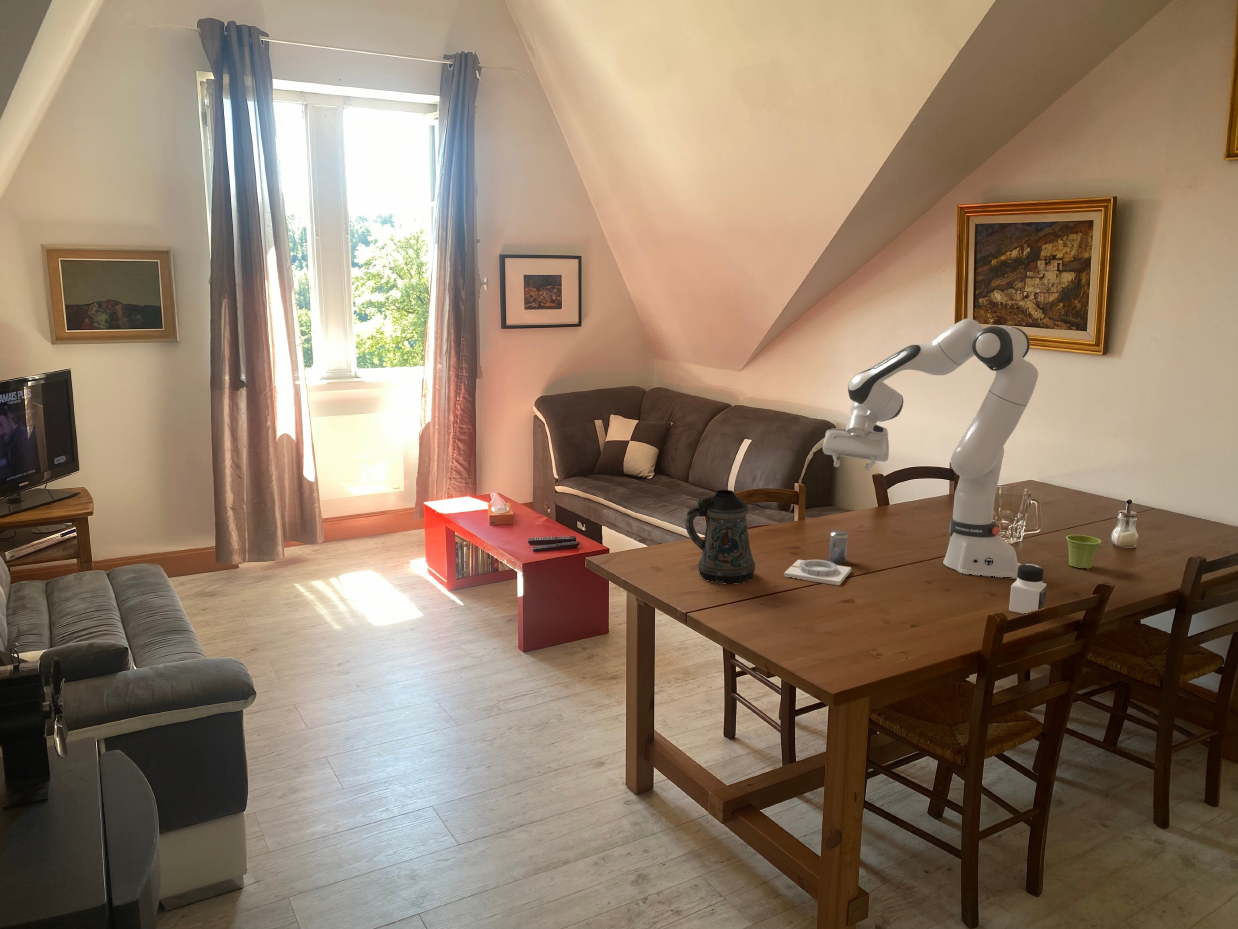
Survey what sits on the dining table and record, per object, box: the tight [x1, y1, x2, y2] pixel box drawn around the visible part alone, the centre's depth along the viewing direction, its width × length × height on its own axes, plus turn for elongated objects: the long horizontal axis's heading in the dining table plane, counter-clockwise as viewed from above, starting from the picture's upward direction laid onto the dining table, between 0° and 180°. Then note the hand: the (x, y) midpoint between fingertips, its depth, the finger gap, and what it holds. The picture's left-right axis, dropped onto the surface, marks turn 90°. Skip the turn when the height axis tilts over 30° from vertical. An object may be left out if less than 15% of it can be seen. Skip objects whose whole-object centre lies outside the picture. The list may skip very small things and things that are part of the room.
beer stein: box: [684, 489, 756, 585], centre depth 258 cm, size 16×19×25 cm
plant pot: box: [1065, 534, 1102, 568], centre depth 270 cm, size 9×9×9 cm
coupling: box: [828, 529, 849, 565], centre depth 275 cm, size 5×5×9 cm
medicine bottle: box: [1008, 563, 1047, 615], centre depth 234 cm, size 7×7×12 cm
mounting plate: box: [783, 559, 852, 586], centre depth 263 cm, size 16×14×3 cm
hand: (851, 467), depth 280 cm, fingers open, 8 cm apart
